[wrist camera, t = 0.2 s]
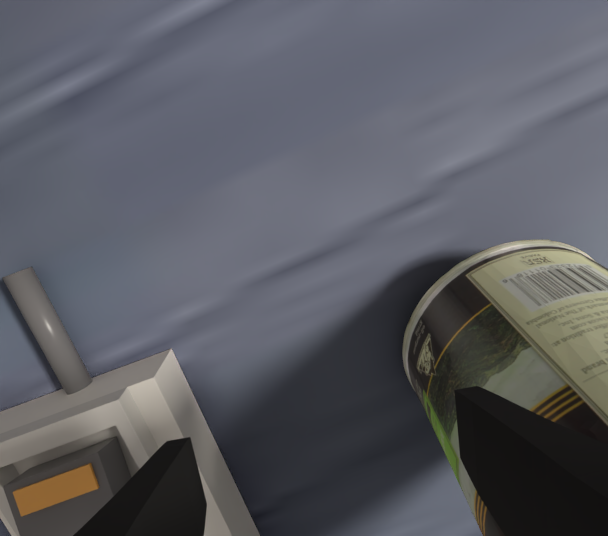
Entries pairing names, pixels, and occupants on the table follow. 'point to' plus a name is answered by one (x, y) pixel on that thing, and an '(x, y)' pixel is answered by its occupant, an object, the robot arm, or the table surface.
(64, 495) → the rocker
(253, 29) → the table surface
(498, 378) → the coffee can
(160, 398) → the rocker switch box
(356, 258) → the table surface
